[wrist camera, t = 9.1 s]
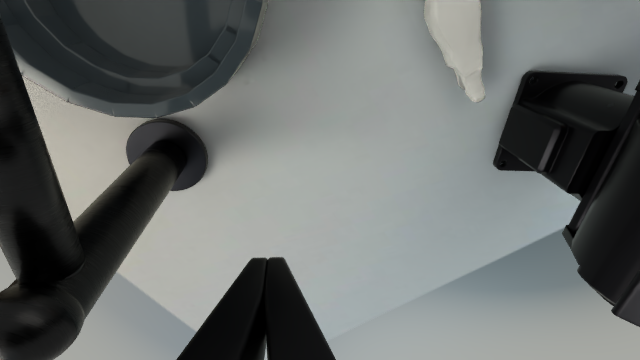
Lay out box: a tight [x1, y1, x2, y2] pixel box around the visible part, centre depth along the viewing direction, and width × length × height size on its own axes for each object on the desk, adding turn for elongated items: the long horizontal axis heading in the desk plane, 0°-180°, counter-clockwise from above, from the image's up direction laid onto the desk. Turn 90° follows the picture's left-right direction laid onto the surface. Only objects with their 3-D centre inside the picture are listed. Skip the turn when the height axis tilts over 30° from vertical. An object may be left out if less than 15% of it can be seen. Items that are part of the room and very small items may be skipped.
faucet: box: [0, 15, 186, 360], centre depth 12 cm, size 12×3×13 cm, turn 176°
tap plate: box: [126, 119, 208, 191], centre depth 21 cm, size 5×5×1 cm
